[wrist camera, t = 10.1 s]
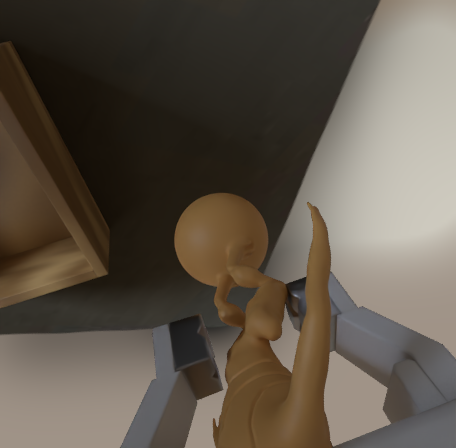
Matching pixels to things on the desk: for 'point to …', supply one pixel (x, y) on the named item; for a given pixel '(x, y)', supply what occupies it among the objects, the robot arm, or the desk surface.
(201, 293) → the desk surface
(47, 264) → the wooden tray
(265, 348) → the figurine
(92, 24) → the desk surface
